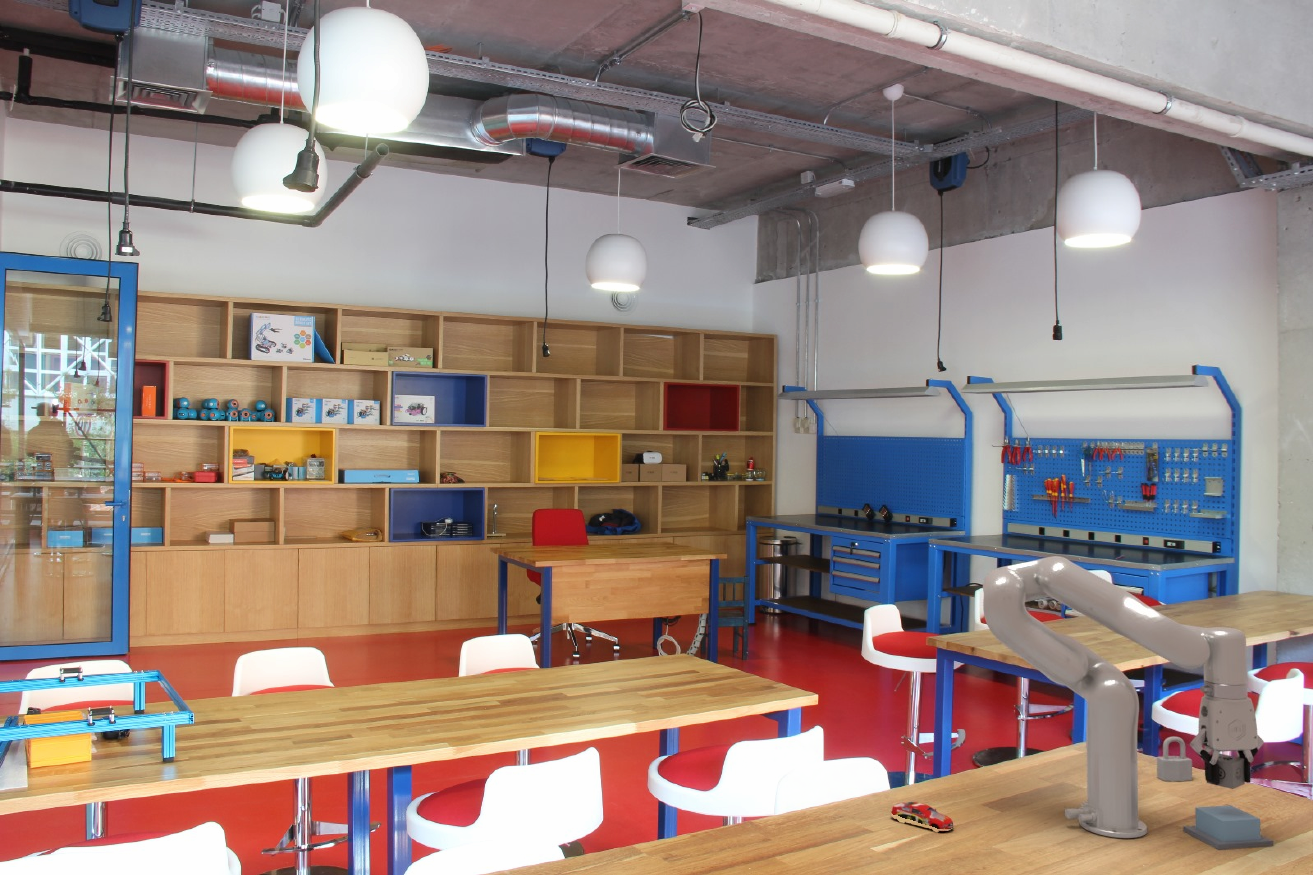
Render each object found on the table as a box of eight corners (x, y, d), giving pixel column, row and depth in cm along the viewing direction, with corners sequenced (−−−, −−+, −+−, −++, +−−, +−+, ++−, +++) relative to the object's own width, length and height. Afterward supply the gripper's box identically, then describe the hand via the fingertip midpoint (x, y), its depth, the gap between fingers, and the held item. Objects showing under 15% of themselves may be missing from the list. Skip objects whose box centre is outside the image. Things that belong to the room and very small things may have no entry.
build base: (1218, 849, 195) (1218, 823, 195) (1183, 831, 204) (1182, 806, 205) (1273, 846, 197) (1273, 820, 197) (1236, 827, 206) (1235, 803, 207)
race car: (958, 830, 206) (958, 810, 206) (944, 837, 202) (945, 817, 202) (901, 814, 215) (901, 795, 215) (887, 820, 211) (887, 801, 212)
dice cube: (1233, 789, 197) (1232, 763, 198) (1206, 783, 201) (1205, 757, 202) (1244, 784, 200) (1243, 758, 201) (1218, 778, 204) (1217, 753, 205)
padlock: (1165, 782, 236) (1164, 739, 236) (1155, 777, 240) (1154, 734, 240) (1194, 781, 237) (1193, 738, 237) (1183, 776, 241) (1183, 734, 241)
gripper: (1199, 696, 196) (1201, 790, 196) (1278, 692, 199) (1281, 785, 198) (1173, 688, 204) (1176, 778, 203) (1250, 684, 206) (1252, 773, 206)
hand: (1227, 780), depth 201 cm, fingers closed on dice cube, 6 cm apart
